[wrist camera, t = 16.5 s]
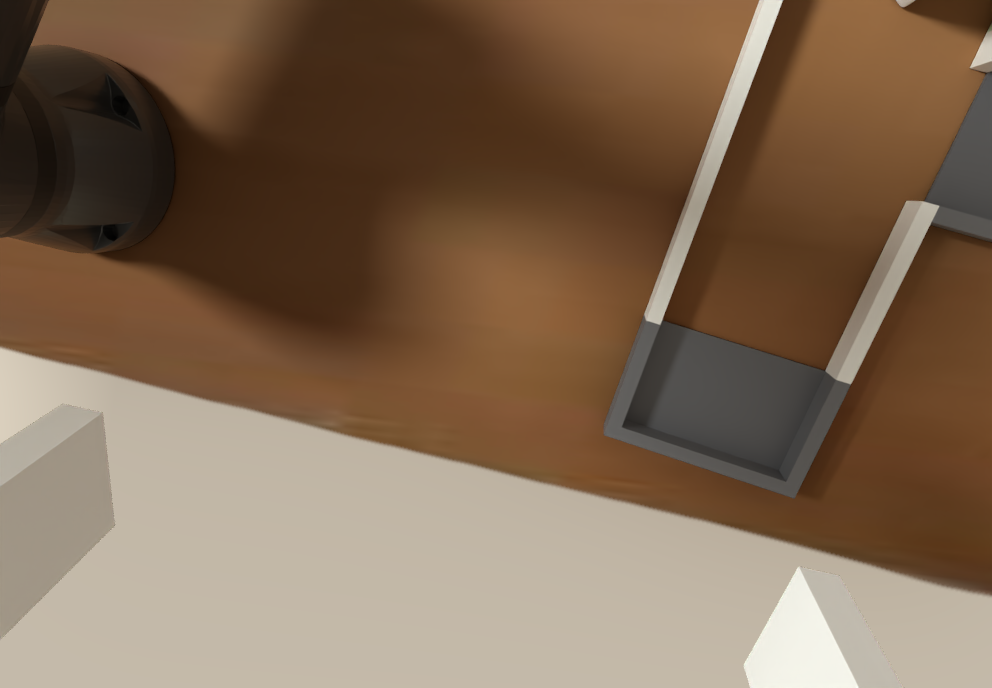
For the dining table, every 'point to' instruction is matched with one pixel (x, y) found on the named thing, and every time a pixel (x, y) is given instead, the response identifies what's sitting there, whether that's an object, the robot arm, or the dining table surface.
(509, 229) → the dining table surface
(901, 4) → the milk carton
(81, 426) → the robot arm
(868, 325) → the trap lane
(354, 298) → the dining table surface
